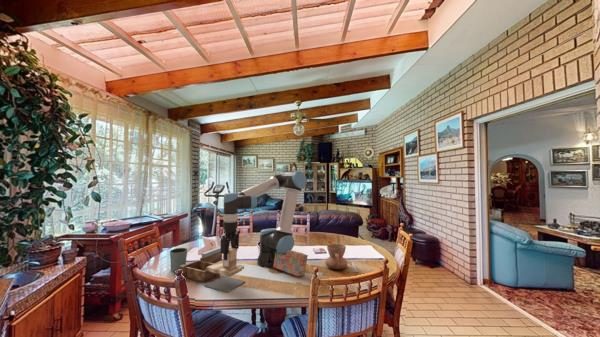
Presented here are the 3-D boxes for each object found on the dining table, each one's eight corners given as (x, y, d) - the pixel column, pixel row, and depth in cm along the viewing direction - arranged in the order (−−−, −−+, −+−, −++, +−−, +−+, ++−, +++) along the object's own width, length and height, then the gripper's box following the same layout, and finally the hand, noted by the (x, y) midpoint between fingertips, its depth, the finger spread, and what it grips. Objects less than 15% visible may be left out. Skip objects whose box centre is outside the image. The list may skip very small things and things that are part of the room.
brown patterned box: (272, 267, 154) (276, 247, 157) (279, 267, 159) (282, 247, 162) (298, 276, 141) (301, 254, 143) (304, 276, 145) (308, 254, 148)
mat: (245, 282, 136) (245, 281, 136) (227, 293, 123) (227, 291, 123) (223, 276, 143) (223, 275, 143) (204, 286, 131) (204, 285, 131)
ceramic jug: (325, 262, 168) (325, 241, 169) (346, 263, 166) (346, 242, 167) (324, 272, 150) (324, 249, 151) (348, 274, 148) (348, 250, 149)
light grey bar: (224, 250, 168) (224, 246, 168) (204, 257, 153) (204, 253, 153) (221, 249, 169) (221, 246, 169) (201, 257, 154) (201, 253, 154)
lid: (244, 270, 135) (244, 247, 135) (230, 277, 125) (230, 253, 125) (220, 265, 142) (221, 243, 142) (206, 271, 132) (206, 248, 133)
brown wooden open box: (237, 266, 160) (237, 254, 160) (199, 284, 132) (199, 271, 133) (217, 261, 168) (217, 250, 168) (177, 278, 140) (177, 265, 140)
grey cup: (182, 264, 162) (183, 246, 162) (190, 268, 155) (190, 249, 156) (166, 269, 154) (167, 250, 154) (173, 273, 147) (174, 253, 148)
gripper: (235, 218, 142) (234, 258, 142) (213, 223, 127) (212, 268, 126) (245, 219, 139) (245, 260, 138) (224, 224, 124) (223, 271, 123)
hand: (229, 264), depth 132 cm, fingers closed on lid, 4 cm apart
